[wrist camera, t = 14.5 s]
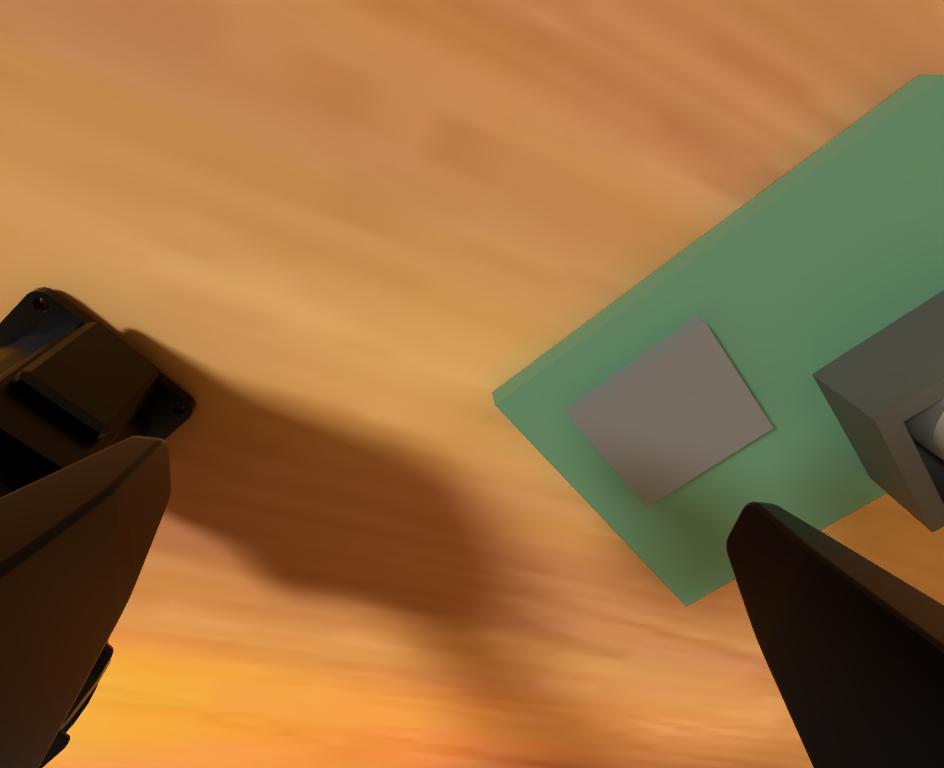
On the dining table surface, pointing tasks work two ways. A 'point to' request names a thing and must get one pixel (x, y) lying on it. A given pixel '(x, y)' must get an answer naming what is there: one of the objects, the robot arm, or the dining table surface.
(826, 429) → the board
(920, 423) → the white cylinder
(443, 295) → the dining table surface
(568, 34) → the dining table surface
